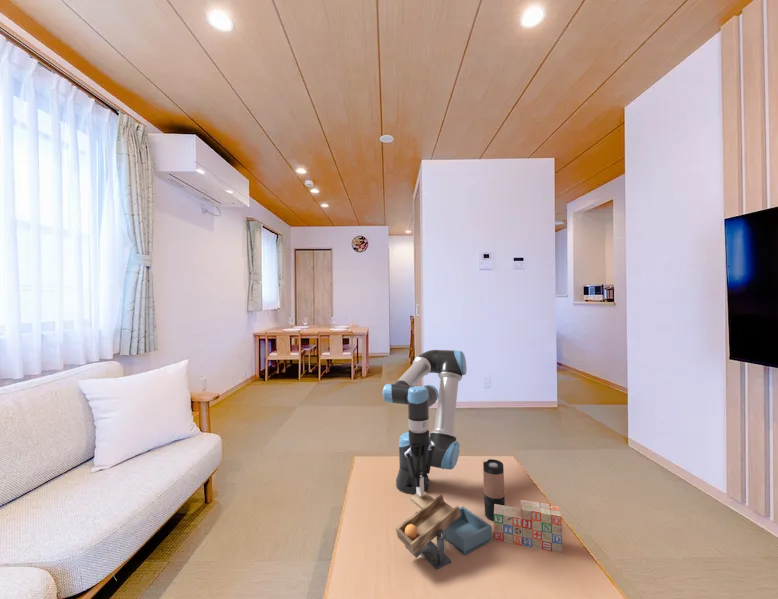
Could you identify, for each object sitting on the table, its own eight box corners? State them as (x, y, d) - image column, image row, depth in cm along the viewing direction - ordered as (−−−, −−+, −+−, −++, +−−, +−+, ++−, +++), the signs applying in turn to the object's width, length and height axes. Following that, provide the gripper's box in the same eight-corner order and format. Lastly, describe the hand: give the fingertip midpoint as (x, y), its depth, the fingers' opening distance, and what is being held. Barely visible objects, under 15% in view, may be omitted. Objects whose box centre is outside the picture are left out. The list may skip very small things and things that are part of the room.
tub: (464, 555, 111) (463, 540, 111) (436, 531, 123) (436, 517, 123) (492, 540, 118) (491, 525, 118) (463, 519, 129) (463, 506, 130)
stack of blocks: (494, 540, 118) (493, 504, 118) (494, 529, 124) (493, 495, 124) (562, 554, 111) (561, 515, 111) (560, 541, 117) (559, 505, 117)
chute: (416, 563, 104) (411, 544, 103) (383, 528, 121) (379, 512, 120) (462, 523, 114) (458, 506, 113) (426, 496, 131) (423, 481, 130)
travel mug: (506, 523, 127) (504, 468, 127) (485, 521, 128) (483, 467, 129) (503, 511, 134) (502, 459, 135) (483, 509, 136) (482, 458, 136)
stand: (436, 570, 105) (435, 537, 105) (410, 544, 117) (409, 514, 117) (451, 562, 108) (450, 530, 108) (424, 537, 120) (423, 508, 120)
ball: (403, 537, 109) (401, 525, 109) (413, 531, 111) (411, 519, 111) (410, 544, 106) (408, 532, 106) (420, 538, 108) (419, 526, 108)
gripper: (410, 436, 119) (411, 505, 119) (439, 429, 126) (440, 493, 126) (398, 430, 126) (399, 495, 125) (426, 423, 133) (428, 484, 132)
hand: (420, 494), depth 125 cm, fingers closed
